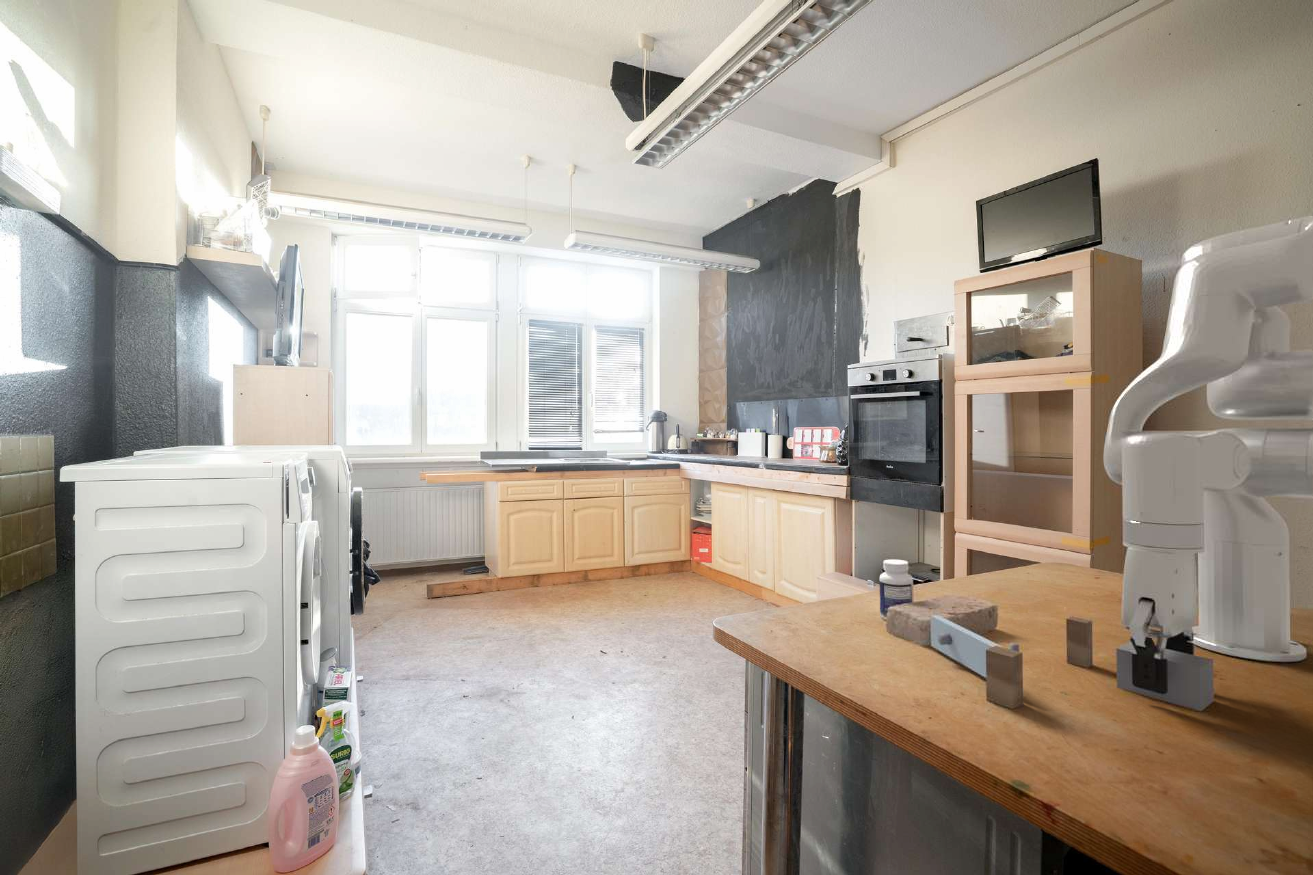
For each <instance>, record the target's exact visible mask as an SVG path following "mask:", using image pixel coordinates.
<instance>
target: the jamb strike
mask: <svg viewBox="0 0 1313 875" xmlns="http://www.w3.org/2000/svg"><path fill="white" fill-rule="evenodd" d="M1065 622H1066V629H1065V630H1066V663H1068V664H1072V665H1075V666H1079V667H1083V668H1089V667H1091V666H1093V665H1094V664H1093V661H1094V660H1093V620H1092V619H1091V620H1090V619H1086V618H1081V617H1077V616H1069V617H1067V618H1065Z"/></svg>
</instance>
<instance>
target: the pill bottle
mask: <svg viewBox="0 0 1313 875" xmlns="http://www.w3.org/2000/svg"><path fill="white" fill-rule="evenodd" d="M882 566H883V570H884V572H882V573H881V574H880V575H879V615H880V618H881V619H883V620H884V621H887V613H888V608H889V607H891V606H896V605H901V604H904V603H910V602H914V579H913V577H912V575H911V574H910V573H908V572H909V569H910V568H909V561H907V560H903V559H885V560H883V565H882Z"/></svg>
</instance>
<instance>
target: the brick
mask: <svg viewBox="0 0 1313 875" xmlns="http://www.w3.org/2000/svg"><path fill="white" fill-rule="evenodd" d="M998 611H999V607H998V605H997V604H995V603H994V602H991V601H988V600H985V599H979V598H975V597H972V596H971V597H969V596H966V595H960V594H956V593H952V594H949V593H948V594H945V595H939V596H936V597H933V598H931V599H928V600H927V599H926V600H920V601H913V602H910V603H904V604H901V605H896V606H891V607H889V608H888V613H887V620H885V621H886V622H885V623H886V624H885V628H886V632H887V633H889V635H893V636H896V637H898V638H900V639H903V640H907V642H911V643H912V644H916V645H917V646H921V647H929V646H930V647H931V616H935V615H939V616H941V617H943V618H945V619H947V620H949V621H951V622H953V623H955V624H957V625H959V626H961V627H963V628H965V629H967V630H969V631H971V632H973V633H975V634H977V635H979V636H981V635H982V634H986V633H989V632H991V631H994V630H995V629H996V628H997V627H998V622H999V620H998V617H999V613H998Z"/></svg>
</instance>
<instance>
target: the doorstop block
mask: <svg viewBox="0 0 1313 875" xmlns="http://www.w3.org/2000/svg"><path fill="white" fill-rule="evenodd" d="M1131 646H1132V642H1131V641H1128V642H1125V643H1124V644H1122V645H1120V646H1119V647H1117V648H1116V688H1117V689H1119V690H1123V691H1128V692H1132V693H1135V694H1138V695H1141V696H1145V697H1149V698H1152V699H1156V700H1160V701H1163V702H1166V701H1167V703H1170V704H1173V705H1176V706H1177V705H1178V706H1180V707H1184V708H1188V709H1192V710H1195V711H1197V712H1202V711H1203V710H1205V709H1206V708H1207V707H1209V704H1210V705H1211V704H1212V703H1213V702H1214V701H1215V696H1214V695H1215V694H1214V693H1215V690H1214V686H1215V685H1214V684H1215V682H1214V679H1215V678H1214V659H1212V658H1207V657H1203V656H1199V655H1195V654H1194V655H1191V654H1186V653H1182V652H1177V651H1173V650H1169V649H1165V651H1164V656H1163V658H1164V659H1167V673H1168V692H1167V693H1166V694H1159V693H1156V692H1152V691H1149V690H1145V689H1141V688H1138V687H1135V686H1134V685H1133V684H1132V652H1131ZM1204 708H1205V709H1204Z"/></svg>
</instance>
